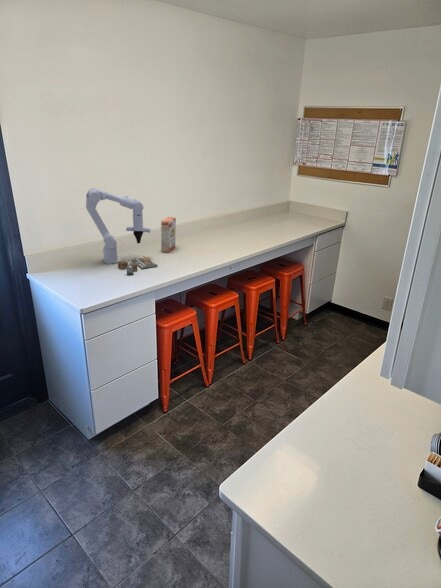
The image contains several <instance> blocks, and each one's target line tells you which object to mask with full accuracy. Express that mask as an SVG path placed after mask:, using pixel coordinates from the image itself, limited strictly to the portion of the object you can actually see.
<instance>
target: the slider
mask: <svg viewBox="0 0 441 588" xmlns="http://www.w3.org/2000/svg"><path fill="white" fill-rule="evenodd" d="M141 258H142V263H143V264H145V265H150V264H151V261H152V258H150V257H149V256H145V257H144V258H143V257H141Z"/></svg>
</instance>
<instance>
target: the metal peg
mask: <svg viewBox="0 0 441 588" xmlns="http://www.w3.org/2000/svg"><path fill="white" fill-rule="evenodd" d="M126 276H134V272H133V265H129V264H128V265H127V269H126Z"/></svg>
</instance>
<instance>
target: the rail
mask: <svg viewBox="0 0 441 588" xmlns="http://www.w3.org/2000/svg"><path fill="white" fill-rule="evenodd" d="M144 257H146V256H145V255H143V257H140V258H137V257H133V259H131V263H137V268H140V269H141V270H147V269H153V268H158V266H159V265H158V264H157V263H155V262H154V261H152V260H151V264H150V265H145V264H143V263H142V258H144Z"/></svg>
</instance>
